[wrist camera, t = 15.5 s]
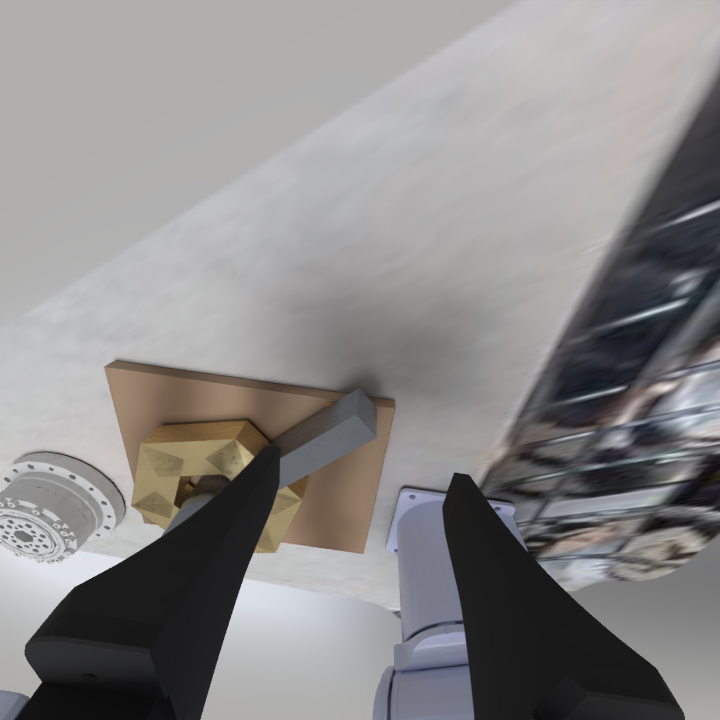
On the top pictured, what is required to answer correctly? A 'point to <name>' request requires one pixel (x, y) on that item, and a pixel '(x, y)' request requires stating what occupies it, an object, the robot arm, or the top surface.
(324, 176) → the top surface
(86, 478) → the mechanical component
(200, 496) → the steel pin
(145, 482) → the handled hexagon ring
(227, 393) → the mount board
